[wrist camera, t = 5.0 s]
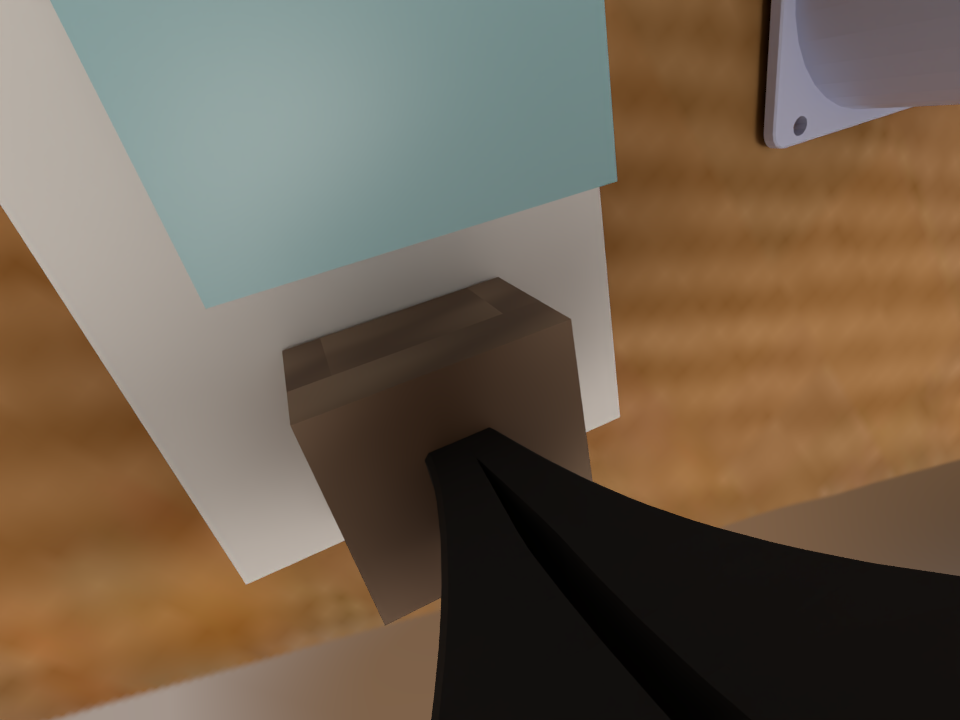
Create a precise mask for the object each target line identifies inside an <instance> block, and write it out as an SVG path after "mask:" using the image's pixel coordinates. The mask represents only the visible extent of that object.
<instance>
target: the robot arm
mask: <svg viewBox="0 0 960 720" xmlns="http://www.w3.org/2000/svg"><path fill="white" fill-rule="evenodd" d="M955 104H960V0H771V15H770V32H769V50H768V67H767V84H766V101H765V119H764V141H765V143H766V145H767V146H768V147H770V148H787V147H790V146H793V145H796V144H799V143H802V142H805V141H808V140H812V139H815V138H818V137H821V136H824V135H827V134H830V133H833V132H836V131H840V130H843V129H846V128H849V127H852V126H855V125H858V124H861V123H864V122H867V121H871V120H874V119H877V118H880V117H883V116H886V115H889V114H892V113H895V112H899V111H902V110H905V109H908V108H911V107H914V106H935V105H955ZM794 124H795V125H794ZM793 128H794V129H793ZM425 463H426V466H427V469H428V472H429V475H430V478H431V481H432V484H433V487H434V490H435V496H436V501H437V509H438V519H439V529H440V542H441V619H440V637H439V651H438V661H437V672H436V682H435V693H434V702H433V710H432V719H431V720H960V576H955V575H949V574H942V573H935V572H928V571H922V570H915V569H908V568H901V567H895V566H888V565H881V564H875V563H869V562H864V561H859V560H854V559H849V558H844V557H838V556H834V555H829V554H823V553H818V552H813V551H809V550H804V549H800V548H795V547H791V546H786V545H782V544H777V543H773V542H769V541H765V540H762V539H758V538H754V537H750V536H747V535H743V534H739V533H735V532H731V531H728V530H724V529H720V528H717V527H713V526H710V525H707V524H703V523H700V522H697V521H693V520H690V519H687V518H684V517H681V516H678V515H675V514H673V513H670V512H667V511H664V510H661V509H658V508H655V507H652V506H649V505H647V504H644V503H641V502H639V501H636V500H634V499H631V498H629V497H626V496H624V495H622V494H620V493H617V492H615V491H613V490H610V489H608V488H606V487H603V486H601V485H599V484H597V483H594V482H592V481H590V480H588V479H586V478H584V477H582V476H580V475H578V474H576V473H574V472H572V471H570V470H568V469H566V468H564V467H562V466H560V465H558V464H556V463H554V462H552V461H550V460H548V459H546V458H544V457H542V456H540V455H539V454H537V453H535V452H533V451H531V450H530V449H528V448H526V447H524V446H522V445H521V444H519V443H517V442H515V441H514V440H512V439H510V438H508V437H507V436H505V435H503V434H502V433H500V432H498V431H496V430H494V429H492V428H490V427H489V428H486V429H484V430H482V431H479V432H477V433H475V434H472V435H470V436H468V437H465V438H463V439H461V440H458V441H456V442H454V443H451V444H449V445H446V446H444V447H442V448H439V449H437V450H435V451H432V452H430V453H428V455H427V457H426V459H425Z"/></svg>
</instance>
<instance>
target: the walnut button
mask: <svg viewBox="0 0 960 720" xmlns="http://www.w3.org/2000/svg"><path fill="white" fill-rule="evenodd" d="M282 355H283V364H284V374H285V383H286V392H287V401H288V410H289V419H290V426H291V428H292V430H293V433H294V435H295V437H296V439H297V441H298V443H299V445H300V447H301V449H302V452H303V454H304V456H305V458H306V460H307V462H308V464H309V466H310V468H311V470H312V473H313V475H314V477H315V479H316V481H317V483H318V485H319V487H320V489H321V492H322V494H323V496H324V498H325V500H326V502H327V504H328V506H329V508H330V510H331V513H332V515H333V517H334V519H335V521H336V523H337V525H338V527H339V529H340V531H341V534H342V536H343V538H344V540H345V542H346V544H347V546H348V548H349V550H350V553H351V555H352V557H353V559H354V561H355V563H356V565H357V567H358V569H359V571H360V574H361V576H362V578H363V580H364V582H365V584H366V586H367V588H368V590H369V592H370V595H371V597H372V599H373V601H374V603H375V605H376V607H377V609H378V611H379V614H380V616H381V618H382V620H383V622H384V624H385V625H387V624H389V623H391V622H393V621H395V620H397V619H399V618H401V617H403V616H405V615H407V614H409V613H411V612H413V611H415V610H417V609H419V608H421V607H423V606H425V605H427V604H429V603H431V602H433V601H435V600H437V599H439V598H441V542H440V529H439V519H438V509H437V501H436V496H435V490H434V487H433V484H432V481H431V478H430V475H429V472H428V469H427V466H426V463H425V459H426V457H427V455H428V453H430V452H432V451H435V450H437V449H439V448H442V447H444V446H446V445H449V444H451V443H454V442H456V441H458V440H461V439H463V438H465V437H468V436H470V435H472V434H475V433H477V432H479V431H482V430H484V429H486V428H489V427H490V428H492V429H494V430H496V431H498V432H500V433H502V434H503V435H505V436H507V437H508V438H510V439H512V440H514V441H515V442H517V443H519V444H521V445H522V446H524V447H526V448H528V449H530V450H531V451H533V452H535V453H537V454H539V455H540V456H542V457H544V458H546V459H548V460H550V461H552V462H554V463H556V464H558V465H560V466H562V467H564V468H566V469H568V470H570V471H572V472H574V473H576V474H578V475H580V476H582V477H584V478H586V479H588V480H590V481H592V475H591V467H590V459H589V452H588V444H587V436H586V429H585V421H584V414H583V406H582V398H581V391H580V383H579V375H578V368H577V360H576V352H575V345H574V337H573V330H572V322H571V319H570V318H569V317H567V316H565V315H563V314H562V313H560V312H558V311H556V310H555V309H553V308H551V307H549V306H548V305H546V304H544V303H543V302H541V301H539V300H537V299H536V298H534V297H532V296H530V295H529V294H527V293H525V292H523V291H522V290H520V289H518V288H517V287H515V286H513V285H511V284H510V283H508V282H506V281H504V280H503V279H501V278H499V277H496V278H494V279H491V280H488V281H485V282H482V283H479V284H476V285H473V286H470V287H467V288H464V289H461V290H458V291H456V292H453V293H450V294H447V295H444V296H441V297H438V298H435V299H432V300H429V301H426V302H423V303H420V304H417V305H415V306H412V307H409V308H406V309H403V310H400V311H397V312H394V313H391V314H388V315H385V316H382V317H379V318H377V319H374V320H371V321H368V322H365V323H362V324H359V325H356V326H353V327H350V328H347V329H344V330H341V331H339V332H336V333H333V334H330V335H327V336H324V337H321V338H318V339H315V340H312V341H309V342H306V343H303V344H301V345H298V346H295V347H292V348H289V349H286V350H283V351H282Z"/></svg>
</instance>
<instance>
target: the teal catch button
mask: <svg viewBox="0 0 960 720" xmlns="http://www.w3.org/2000/svg"><path fill="white" fill-rule="evenodd" d="M50 1H51V3H52V5H53V7H54V9H55V11H56V13H57V15H58V17H59V19H60V21H61V23H62V25H63V27H64V29H65V31H66V33H67V35H68V37H69V39H70V41H71V43H72V45H73V47H74V49H75V51H76V53H77V55H78V57H79V59H80V61H81V63H82V65H83V67H84V69H85V71H86V73H87V75H88V77H89V79H90V81H91V83H92V85H93V87H94V89H95V90H96V92H97V94H98V96H99V98H100V100H101V102H102V104H103V106H104V108H105V110H106V112H107V114H108V116H109V118H110V120H111V122H112V124H113V126H114V128H115V130H116V132H117V134H118V136H119V138H120V140H121V142H122V144H123V146H124V148H125V150H126V152H127V154H128V156H129V158H130V160H131V162H132V164H133V166H134V168H135V170H136V172H137V174H138V176H139V178H140V180H141V182H142V184H143V186H144V188H145V189H146V191H147V193H148V195H149V197H150V199H151V201H152V203H153V205H154V207H155V209H156V211H157V213H158V215H159V217H160V219H161V221H162V223H163V225H164V227H165V229H166V231H167V233H168V235H169V237H170V239H171V241H172V243H173V245H174V247H175V249H176V251H177V253H178V255H179V257H180V259H181V261H182V263H183V265H184V267H185V269H186V271H187V273H188V275H189V277H190V279H191V281H192V283H193V285H194V287H195V289H196V290H197V292H198V294H199V296H200V298H201V300H202V302H203V304H204V306H205V308H206V309H207V308H210V307H213V306H216V305H220V304H223V303H226V302H229V301H233V300H236V299H239V298H242V297H245V296H249V295H252V294H255V293H258V292H262V291H265V290H268V289H271V288H274V287H278V286H281V285H284V284H287V283H291V282H294V281H297V280H300V279H304V278H307V277H310V276H313V275H316V274H320V273H323V272H326V271H329V270H333V269H336V268H339V267H342V266H345V265H349V264H352V263H355V262H358V261H362V260H365V259H368V258H371V257H375V256H378V255H381V254H384V253H387V252H391V251H394V250H397V249H400V248H404V247H407V246H410V245H413V244H416V243H420V242H423V241H426V240H429V239H433V238H436V237H439V236H442V235H446V234H449V233H452V232H455V231H458V230H462V229H465V228H468V227H471V226H475V225H478V224H481V223H484V222H487V221H491V220H494V219H497V218H500V217H504V216H507V215H510V214H513V213H517V212H520V211H523V210H526V209H529V208H533V207H536V206H539V205H542V204H546V203H549V202H552V201H555V200H558V199H562V198H565V197H568V196H571V195H575V194H578V193H581V192H584V191H587V190H591V189H594V188H597V187H600V186H604V185H607V184H610V183H613V182H617V170H616V156H615V143H614V129H613V115H612V101H611V87H610V74H609V60H608V46H607V32H606V18H605V5H604V0H50Z"/></svg>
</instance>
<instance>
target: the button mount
mask: <svg viewBox="0 0 960 720" xmlns="http://www.w3.org/2000/svg"><path fill="white" fill-rule="evenodd" d="M0 205H1V206H2V208H3V209H4V211H5V212H6V214H7V215H8V217H9V219H10V220H11V222H12V223H13V225H14V226H15V228H16V229H17V231H18V232H19V234H20V236H21V237H22V239H23V240H24V242H25V243H26V245H27V246H28V248H29V250H30V251H31V253H32V254H33V256H34V257H35V259H36V260H37V262H38V263H39V265H40V267H41V268H42V270H43V271H44V273H45V274H46V276H47V277H48V279H49V280H50V282H51V284H52V285H53V287H54V288H55V290H56V291H57V293H58V294H59V296H60V297H61V299H62V301H63V302H64V304H65V305H66V307H67V308H68V310H69V311H70V313H71V314H72V316H73V318H74V319H75V321H76V322H77V324H78V325H79V327H80V328H81V330H82V331H83V333H84V335H85V336H86V338H87V339H88V341H89V342H90V344H91V345H92V347H93V348H94V350H95V352H96V353H97V355H98V356H99V358H100V359H101V361H102V362H103V364H104V365H105V367H106V369H107V370H108V372H109V373H110V375H111V376H112V378H113V379H114V381H115V382H116V384H117V386H118V387H119V389H120V390H121V392H122V393H123V395H124V396H125V398H126V399H127V401H128V403H129V404H130V406H131V407H132V409H133V410H134V412H135V413H136V415H137V416H138V418H139V420H140V421H141V423H142V424H143V426H144V427H145V429H146V430H147V432H148V434H149V435H150V437H151V438H152V440H153V441H154V443H155V444H156V446H157V447H158V449H159V451H160V452H161V454H162V455H163V457H164V458H165V460H166V461H167V463H168V464H169V466H170V468H171V469H172V471H173V472H174V474H175V475H176V477H177V478H178V480H179V481H180V483H181V485H182V486H183V488H184V489H185V491H186V492H187V494H188V495H189V497H190V498H191V500H192V502H193V503H194V505H195V506H196V508H197V509H198V511H199V512H200V514H201V515H202V517H203V519H204V520H205V522H206V523H207V525H208V526H209V528H210V529H211V531H212V532H213V534H214V536H215V537H216V539H217V540H218V542H219V543H220V545H221V546H222V548H223V549H224V551H225V553H226V554H227V556H228V557H229V559H230V560H231V562H232V563H233V565H234V566H235V568H236V570H237V571H238V573H239V574H240V576H241V577H242V579H243V580H244V582H245V583H246V584H249V583H251V582H253V581H255V580H258V579H260V578H262V577H264V576H266V575H269V574H271V573H273V572H275V571H278V570H280V569H282V568H284V567H287V566H289V565H291V564H293V563H295V562H298V561H300V560H302V559H304V558H307V557H309V556H311V555H313V554H316V553H318V552H320V551H322V550H324V549H327V548H329V547H331V546H333V545H336V544H338V543H340V542H342V541H345V540H344V538H343V536H342V534H341V531H340V529H339V527H338V525H337V523H336V521H335V519H334V517H333V515H332V513H331V510H330V508H329V506H328V504H327V502H326V500H325V498H324V496H323V494H322V492H321V489H320V487H319V485H318V483H317V481H316V479H315V477H314V475H313V473H312V470H311V468H310V466H309V464H308V462H307V460H306V458H305V456H304V454H303V452H302V449H301V447H300V445H299V443H298V441H297V439H296V437H295V435H294V433H293V430H292V428H291V426H290V419H289V410H288V401H287V392H286V383H285V374H284V364H283V355H282V351H283V350H286V349H289V348H292V347H295V346H298V345H301V344H303V343H306V342H309V341H312V340H315V339H318V338H321V337H324V336H327V335H330V334H333V333H336V332H339V331H341V330H344V329H347V328H350V327H353V326H356V325H359V324H362V323H365V322H368V321H371V320H374V319H377V318H379V317H382V316H385V315H388V314H391V313H394V312H397V311H400V310H403V309H406V308H409V307H412V306H415V305H417V304H420V303H423V302H426V301H429V300H432V299H435V298H438V297H441V296H444V295H447V294H450V293H453V292H456V291H458V290H461V289H464V288H467V287H470V286H473V285H476V284H479V283H482V282H485V281H488V280H491V279H494V278H496V277H499V278H501V279H503V280H504V281H506V282H508V283H510V284H511V285H513V286H515V287H517V288H518V289H520V290H522V291H523V292H525V293H527V294H529V295H530V296H532V297H534V298H536V299H537V300H539V301H541V302H543V303H544V304H546V305H548V306H549V307H551V308H553V309H555V310H556V311H558V312H560V313H562V314H563V315H565V316H567V317H569V318H570V319H571V322H572V330H573V337H574V345H575V352H576V360H577V368H578V375H579V383H580V391H581V398H582V406H583V414H584V421H585V429H586V432H588V431H590V430H592V429H594V428H597V427H599V426H601V425H603V424H605V423H608V422H610V421H612V420H614V419H617V418H619V417H620V412H619V401H618V390H617V379H616V367H615V356H614V345H613V334H612V323H611V311H610V300H609V289H608V278H607V267H606V255H605V244H604V233H603V222H602V211H601V199H600V188H599V187H597V188H594V189H591V190H587V191H584V192H581V193H578V194H575V195H571V196H568V197H565V198H562V199H558V200H555V201H552V202H549V203H546V204H542V205H539V206H536V207H533V208H529V209H526V210H523V211H520V212H517V213H513V214H510V215H507V216H504V217H500V218H497V219H494V220H491V221H487V222H484V223H481V224H478V225H475V226H471V227H468V228H465V229H462V230H458V231H455V232H452V233H449V234H446V235H442V236H439V237H436V238H433V239H429V240H426V241H423V242H420V243H416V244H413V245H410V246H407V247H404V248H400V249H397V250H394V251H391V252H387V253H384V254H381V255H378V256H375V257H371V258H368V259H365V260H362V261H358V262H355V263H352V264H349V265H345V266H342V267H339V268H336V269H333V270H329V271H326V272H323V273H320V274H316V275H313V276H310V277H307V278H304V279H300V280H297V281H294V282H291V283H287V284H284V285H281V286H278V287H274V288H271V289H268V290H265V291H262V292H258V293H255V294H252V295H249V296H245V297H242V298H239V299H236V300H233V301H229V302H226V303H223V304H220V305H216V306H213V307H210V308H207V309H206V308H205V306H204V304H203V302H202V300H201V298H200V296H199V294H198V292H197V290H196V289H195V287H194V285H193V283H192V281H191V279H190V277H189V275H188V273H187V271H186V269H185V267H184V265H183V263H182V261H181V259H180V257H179V255H178V253H177V251H176V249H175V247H174V245H173V243H172V241H171V239H170V237H169V235H168V233H167V231H166V229H165V227H164V225H163V223H162V221H161V219H160V217H159V215H158V213H157V211H156V209H155V207H154V205H153V203H152V201H151V199H150V197H149V195H148V193H147V191H146V189H145V188H144V186H143V184H142V182H141V180H140V178H139V176H138V174H137V172H136V170H135V168H134V166H133V164H132V162H131V160H130V158H129V156H128V154H127V152H126V150H125V148H124V146H123V144H122V142H121V140H120V138H119V136H118V134H117V132H116V130H115V128H114V126H113V124H112V122H111V120H110V118H109V116H108V114H107V112H106V110H105V108H104V106H103V104H102V102H101V100H100V98H99V96H98V94H97V92H96V90H95V89H94V87H93V85H92V83H91V81H90V79H89V77H88V75H87V73H86V71H85V69H84V67H83V65H82V63H81V61H80V59H79V57H78V55H77V53H76V51H75V49H74V47H73V45H72V43H71V41H70V39H69V37H68V35H67V33H66V31H65V29H64V27H63V25H62V23H61V21H60V19H59V17H58V15H57V13H56V11H55V9H54V7H53V5H52V3H51V1H50V0H0Z"/></svg>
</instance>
